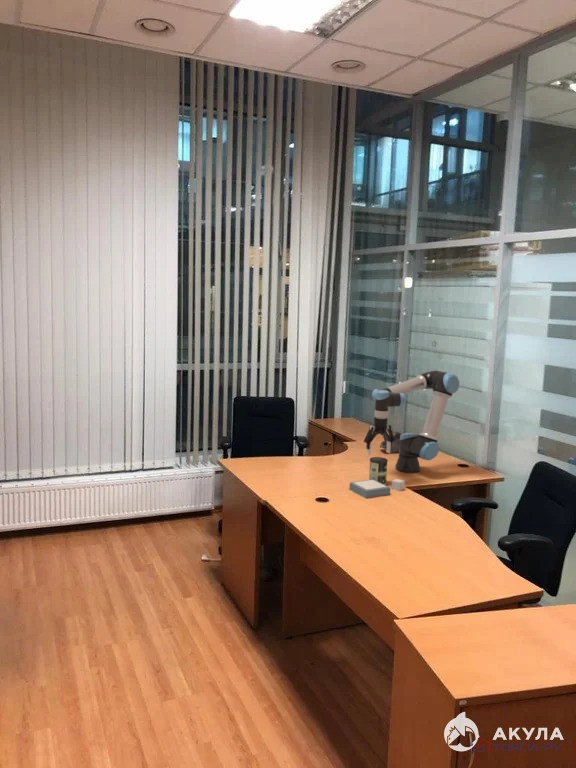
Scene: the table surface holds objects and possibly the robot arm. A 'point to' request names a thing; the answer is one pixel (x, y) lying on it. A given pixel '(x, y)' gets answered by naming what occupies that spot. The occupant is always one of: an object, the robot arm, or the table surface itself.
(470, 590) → the table surface
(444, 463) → the table surface
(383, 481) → the coffee can
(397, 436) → the dark grey lumpy piece
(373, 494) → the plinth
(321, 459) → the table surface
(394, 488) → the block
